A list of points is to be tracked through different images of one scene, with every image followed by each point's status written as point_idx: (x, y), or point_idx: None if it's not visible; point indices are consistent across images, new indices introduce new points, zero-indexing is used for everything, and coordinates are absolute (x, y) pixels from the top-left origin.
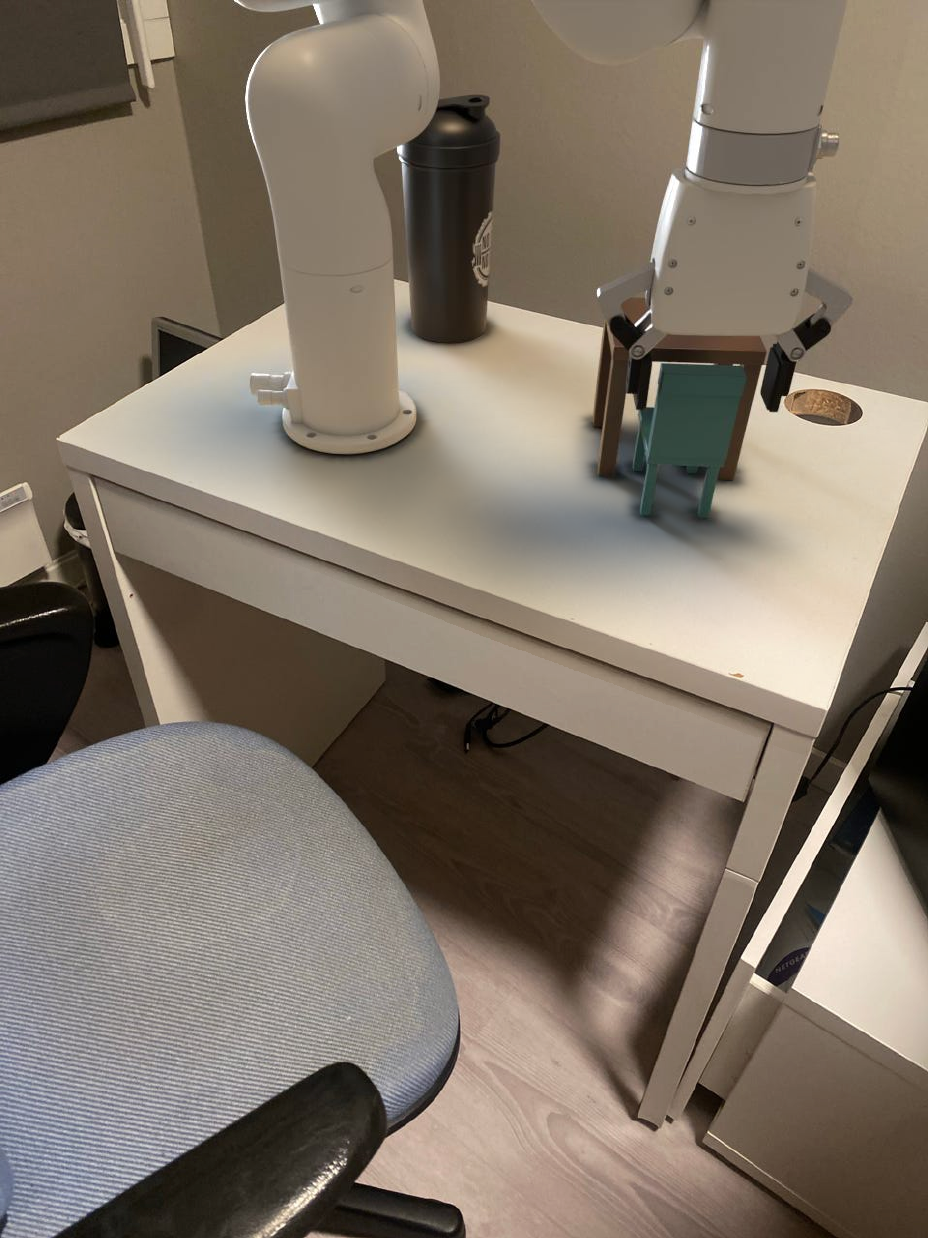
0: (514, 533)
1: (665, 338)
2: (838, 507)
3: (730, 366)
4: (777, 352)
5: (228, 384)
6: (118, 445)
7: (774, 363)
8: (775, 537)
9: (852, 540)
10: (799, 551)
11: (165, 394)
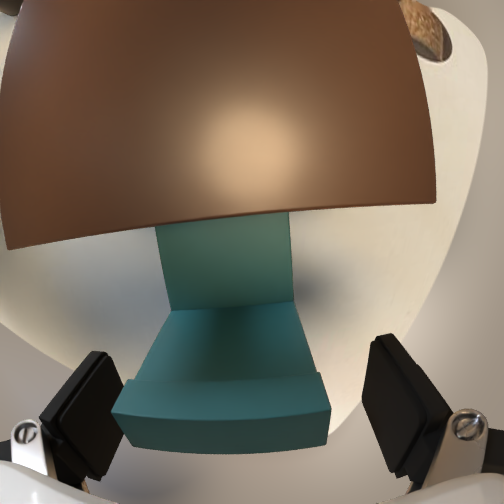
0: (89, 323)
1: (101, 155)
2: (421, 228)
3: (296, 419)
4: (414, 448)
5: None
6: None
7: (395, 448)
8: (348, 296)
9: (416, 285)
10: (365, 314)
11: None
